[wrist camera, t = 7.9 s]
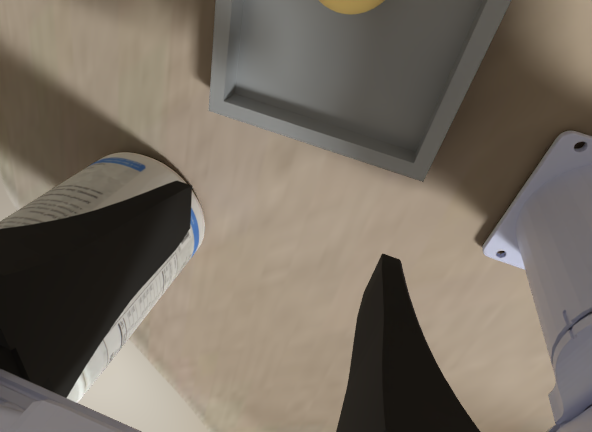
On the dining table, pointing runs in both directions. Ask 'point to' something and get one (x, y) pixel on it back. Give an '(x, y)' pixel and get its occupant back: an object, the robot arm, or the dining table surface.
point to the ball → (351, 5)
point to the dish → (352, 73)
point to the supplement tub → (100, 193)
